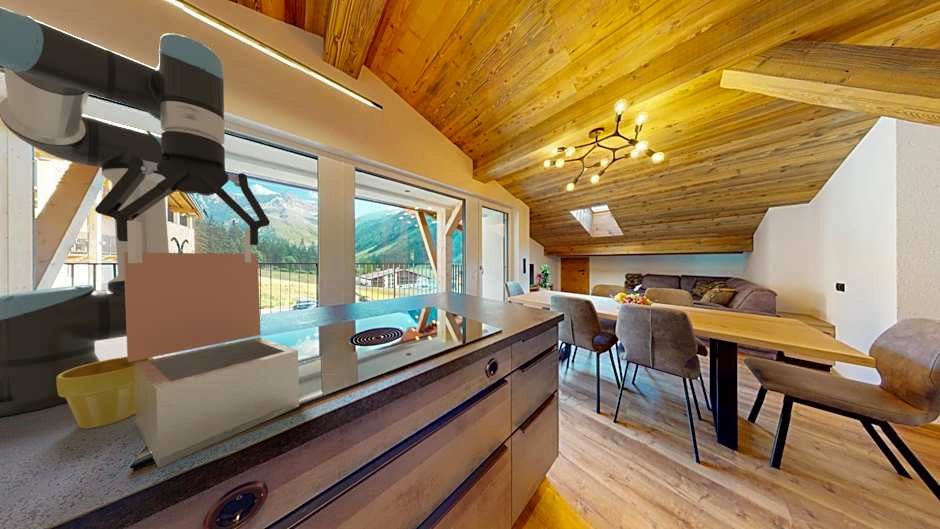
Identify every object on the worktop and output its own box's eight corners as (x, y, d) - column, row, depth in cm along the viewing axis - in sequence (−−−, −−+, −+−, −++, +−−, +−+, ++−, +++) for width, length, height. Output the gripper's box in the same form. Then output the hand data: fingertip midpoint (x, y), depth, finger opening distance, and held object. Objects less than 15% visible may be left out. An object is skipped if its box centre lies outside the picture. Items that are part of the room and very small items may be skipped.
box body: (135, 426, 46) (133, 363, 46) (260, 384, 61) (259, 337, 61) (158, 468, 36) (156, 389, 36) (299, 406, 52) (298, 350, 52)
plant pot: (83, 440, 42) (81, 379, 42) (41, 432, 44) (39, 375, 44) (168, 405, 53) (167, 356, 52) (131, 400, 55) (129, 353, 54)
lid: (128, 361, 46) (125, 358, 48) (260, 335, 62) (254, 333, 64) (124, 252, 46) (121, 253, 48) (257, 254, 62) (251, 254, 64)
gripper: (52, 102, 35) (57, 263, 35) (284, 151, 50) (285, 262, 51) (83, 124, 40) (87, 262, 41) (282, 162, 56) (283, 262, 56)
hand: (196, 263), depth 46 cm, fingers open, 13 cm apart
